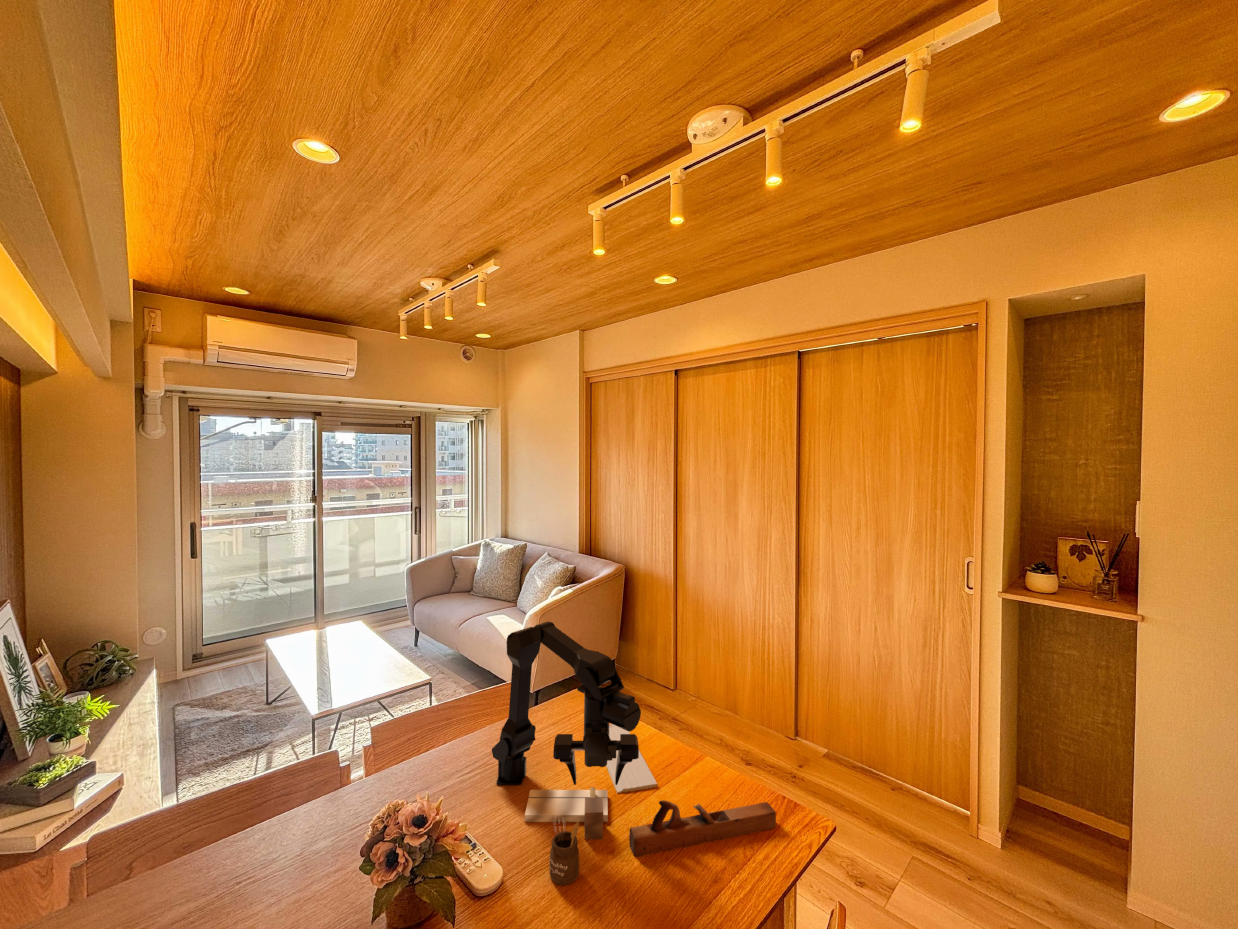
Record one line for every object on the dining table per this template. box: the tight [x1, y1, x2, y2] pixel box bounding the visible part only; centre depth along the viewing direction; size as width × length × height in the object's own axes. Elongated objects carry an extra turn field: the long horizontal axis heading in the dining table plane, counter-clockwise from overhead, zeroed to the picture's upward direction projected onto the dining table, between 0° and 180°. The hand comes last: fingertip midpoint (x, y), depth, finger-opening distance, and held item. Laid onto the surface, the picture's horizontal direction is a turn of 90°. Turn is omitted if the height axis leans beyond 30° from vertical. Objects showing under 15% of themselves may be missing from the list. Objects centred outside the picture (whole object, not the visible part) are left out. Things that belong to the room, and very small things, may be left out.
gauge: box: [583, 786, 604, 841], centre depth 121 cm, size 4×13×6 cm, turn 4°
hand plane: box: [628, 799, 777, 858], centre depth 116 cm, size 34×5×10 cm, turn 109°
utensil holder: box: [549, 814, 581, 886], centre depth 105 cm, size 6×6×12 cm
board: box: [524, 789, 609, 823], centre depth 124 cm, size 19×9×2 cm, turn 92°
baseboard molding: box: [605, 724, 658, 794], centre depth 146 cm, size 31×3×12 cm
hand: (595, 783), depth 117 cm, fingers open, 9 cm apart
